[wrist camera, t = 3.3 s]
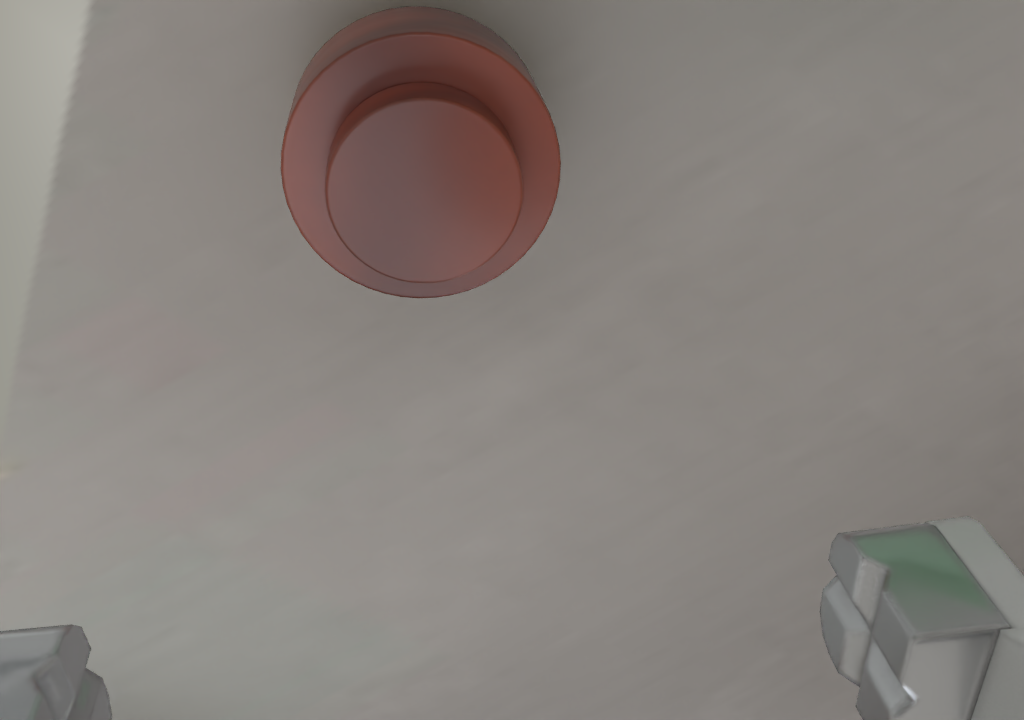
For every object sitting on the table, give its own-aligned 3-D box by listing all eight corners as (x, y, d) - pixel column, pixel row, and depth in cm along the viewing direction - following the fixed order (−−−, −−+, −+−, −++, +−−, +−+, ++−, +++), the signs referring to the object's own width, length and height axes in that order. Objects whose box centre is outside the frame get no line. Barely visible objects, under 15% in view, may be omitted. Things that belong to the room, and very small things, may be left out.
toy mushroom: (524, -28, 25) (568, 35, 19) (532, 198, 28) (571, 310, 22) (281, -11, 24) (249, 58, 19) (317, 217, 28) (301, 336, 22)
